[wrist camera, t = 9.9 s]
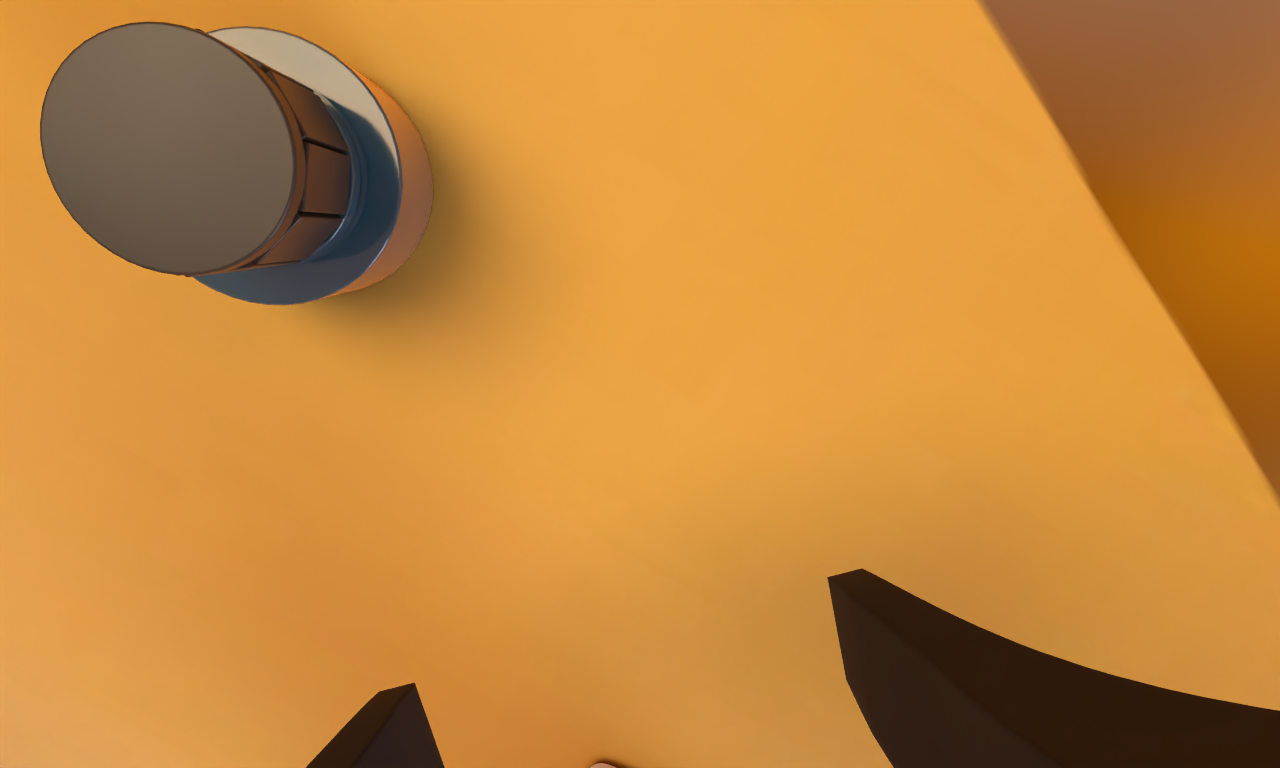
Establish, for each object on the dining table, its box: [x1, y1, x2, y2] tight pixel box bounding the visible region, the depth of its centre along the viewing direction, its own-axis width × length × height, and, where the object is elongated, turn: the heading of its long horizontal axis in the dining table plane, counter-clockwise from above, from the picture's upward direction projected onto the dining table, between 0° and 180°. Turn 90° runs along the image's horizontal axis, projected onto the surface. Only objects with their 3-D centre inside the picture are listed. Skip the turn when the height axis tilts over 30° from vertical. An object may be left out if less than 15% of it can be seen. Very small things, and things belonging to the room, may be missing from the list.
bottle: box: [193, 26, 433, 305], centre depth 16 cm, size 6×6×6 cm
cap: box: [40, 22, 351, 277], centre depth 13 cm, size 4×4×3 cm
